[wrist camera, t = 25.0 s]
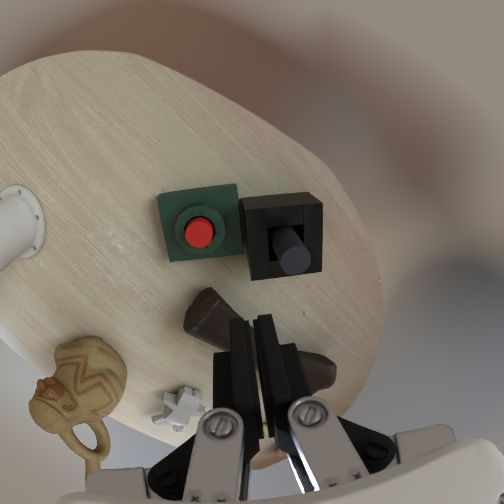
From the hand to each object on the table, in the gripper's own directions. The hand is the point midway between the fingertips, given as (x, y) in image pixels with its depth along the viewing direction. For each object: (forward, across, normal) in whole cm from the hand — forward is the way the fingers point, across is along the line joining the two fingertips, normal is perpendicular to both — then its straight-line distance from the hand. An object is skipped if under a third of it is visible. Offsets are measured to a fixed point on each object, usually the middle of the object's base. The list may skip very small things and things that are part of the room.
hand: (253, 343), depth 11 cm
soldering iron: (+27, -6, +5) cm, 28 cm away
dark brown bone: (+27, -2, +25) cm, 37 cm away
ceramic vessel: (+27, +31, +28) cm, 50 cm away
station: (+27, +4, +3) cm, 28 cm away
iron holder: (+27, -6, +5) cm, 28 cm away
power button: (+23, +5, +3) cm, 24 cm away
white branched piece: (+27, +17, +42) cm, 53 cm away
